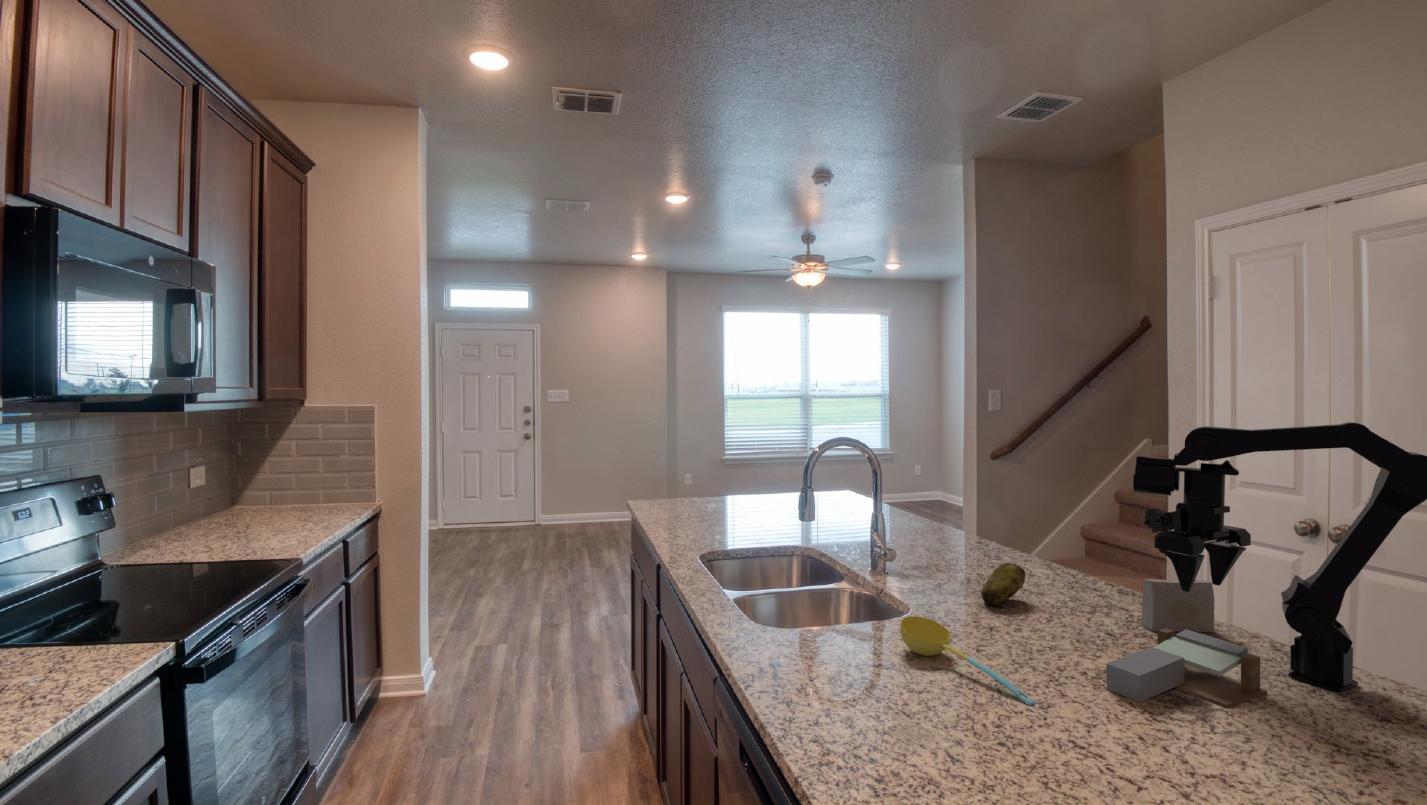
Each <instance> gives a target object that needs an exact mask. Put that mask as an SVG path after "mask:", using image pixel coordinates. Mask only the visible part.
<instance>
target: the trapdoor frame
mask: <svg viewBox="0 0 1427 805" xmlns="http://www.w3.org/2000/svg"><path fill="white" fill-rule="evenodd" d="M1156 633H1157V634H1156V635H1157V641H1156V642H1157V643H1156V644H1157V645H1159V644H1160V643H1162V642H1164V641H1166V640H1168V639H1169V638H1171V637H1173V636H1174V637H1176V634H1175V633H1176V632H1175V631H1174V630H1171V629H1167V628H1164V629H1160V630H1157V632H1156ZM1157 645H1156V646H1157ZM1173 689H1176V690H1179V691H1182V692H1185V693H1187V694H1189V695H1192V696H1194V697H1197V698H1200V699H1201V700H1202V699H1203V700H1205V701H1209V702H1211V703H1212V704H1213V703H1214V704H1215V705H1219V706H1221V707H1224V708H1226V709H1227V708H1229V707H1233V706H1236V705H1238V704H1242V703H1244V702H1246V701H1249V700H1253V699H1254V698H1255V699H1256V698H1258V697H1260V696H1263V695H1266V694H1268V690H1267V689H1265V688H1264V689H1263V688H1261V656H1258V655H1255V654H1251V653H1248V654H1247V655H1244V656H1241V664H1240V680H1238V679H1234V678H1233V677H1229V676H1225V675H1224V674H1223V675H1221V676H1218V675H1215V674H1212V673H1209V672H1206V671H1203V670H1200V669H1197V668H1195V667H1192V666H1189V665H1186V664H1184V683H1183V684H1180V685H1178V686H1176V687H1174V688H1173Z"/></svg>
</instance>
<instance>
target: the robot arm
mask: <svg viewBox="0 0 1427 805" xmlns="http://www.w3.org/2000/svg"><path fill="white" fill-rule="evenodd" d="M1342 448H1343V449H1349V450H1351V451H1353V453H1356V454H1358V455H1359V456H1360V457H1362V458H1363V459H1366V460H1367V461H1368V462H1370V463H1372V464H1373V465H1375V466H1376V467H1378V468H1379V469H1380V470H1379V472H1378V474H1377V477H1376V479H1375V482H1374V484H1373V485H1374V486H1373V489H1372V492H1371V495H1370V498H1369V501H1368V502H1367V503H1366V505H1364V507H1363V509H1362V510H1361V511H1360V513H1359V514H1358V515H1357V517H1356V518H1355V519H1354V521H1353V522H1352V523H1351V525H1350V526H1349V528H1348V529H1347V530H1346V531H1345V533H1344V534H1343V536H1341V538H1340V539H1339V540H1338V542H1337V543H1336V544H1335V546H1334V547H1333V549H1332V550H1331V552H1330V553H1329V554H1328V556H1327V557H1326V559H1325V560H1324V561H1323V563H1321V565H1320V566H1319V568H1318V569H1317V571H1315V572H1314V573H1313V574H1312V575H1310V576H1309V577H1307V578H1306V579H1303V578H1302V577H1300V576H1299V575H1297V574H1294V576H1293V578H1292V580H1291V582H1290V585H1289V586H1288V587H1287V588H1286V589H1285V590H1283V591H1282V592H1280V595H1281V598H1282V602H1281V608H1282V612H1283V615H1284V618H1285V620H1286V623H1287V624H1288V625H1289V627H1290V628H1291V629H1292V630H1294V631H1295V632H1297V633H1299V634H1300V635H1297V636H1295V637H1294V638H1293V639H1294V642H1293V644H1291V645H1290V655H1289V656H1290V657H1289V658H1290V661H1289V662H1290V663H1289V664H1290V665H1289V666H1290V670H1291V671H1290V672H1289V673H1288V675H1287V676H1288V677H1290V678H1292V679H1296V680H1300V681H1302V682H1304V683H1305V682H1306V683H1309V684H1311V685H1315V686H1317V687H1321V688H1323V689H1327V690H1330V691H1332V692H1337V693H1338V692H1339V693H1340V692H1341V693H1342V692H1344V691H1346V690H1348V689H1351V688H1354V687H1357V686H1358V684H1359V682H1358V681H1357V680H1354V679H1353V677H1354V674H1353V672H1354V671H1353V670H1354V669H1353V668H1354V667H1353V666H1354V664H1353V663H1354V647H1353V646H1352V645H1353V640H1352V639H1351V637H1350V635H1349V633H1348V631H1347V630H1346V628H1345V626H1344V625H1343V624H1342V623H1340V622H1339V621H1338V620H1337V618H1338V616H1339V613H1340V611H1341V607H1342V604H1343V601H1344V599H1345V594H1346V592H1347V589H1349V587H1350V586H1351V585H1352V583H1353V582H1354V580H1356V578H1357V577H1358V576H1359V574H1360V573H1361V571H1362V570H1363V569H1364V567H1365V566H1366V565H1367V563H1369V561H1370V559H1371V558H1372V557H1373V556H1374V554H1375V553H1376V551H1378V549H1379V548H1380V547H1381V545H1382V544H1383V542H1385V540H1386V539H1387V538H1388V536H1389V535H1390V534H1391V532H1392V531H1393V529H1394V528H1395V527H1396V526H1397V524H1398V523H1399V522H1400V520H1402V518H1403V516H1405V515H1406V514H1408V513H1409V512H1411V511H1412V510H1413V509H1415V508H1416V507H1419V506H1420V505H1421V504H1423V503H1424V502H1425V501H1426V500H1427V455H1424V454H1421V453H1417V452H1413V451H1409V452H1408V451H1407V450H1405V449H1403V448H1401V447H1400V446H1398V445H1396V444H1394V443H1393V442H1391V441H1389V440H1387V439H1386V438H1384V437H1382V436H1380V435H1378V434H1377V433H1376V432H1373V431H1371V430H1370V428H1369V427H1367V426H1366V425H1364V424H1362V423H1358V422H1349V421H1348V422H1343V423H1340V424H1323V425H1308V426H1292V427H1290V426H1289V427H1278V428H1277V427H1276V428H1275V427H1274V428H1261V429H1260V428H1259V429H1245V428H1235V427H1234V428H1233V427H1222V426H1209V425H1208V426H1207V425H1205V426H1204V425H1203V426H1198V427H1196V428H1194V429H1192V430H1191V431H1189V433H1188V434H1187V435H1186V437H1185V440H1184V447H1183V448H1182V449H1181V450H1180V451H1179V452H1178V453H1177V452H1175V453H1174V456H1173V458H1166V457H1151V456H1147V455H1137V456H1136V458H1135V459H1136V460H1135V461H1136V462H1135V468H1134V474H1133V479H1132V480H1133V482H1132V483H1133V485H1132V486H1133V487H1132V488H1133V492H1134V493H1135V494H1146V495H1147V494H1149V495H1156V496H1157V495H1159V496H1169V497H1172V494H1173V493H1174V492H1175V491H1177V492H1179V491H1180V479H1181V478H1180V476H1181V475H1180V474H1181V473H1182V472H1183V473H1184V474H1183V502H1177V504H1176V505H1175V510H1174V511H1168V512H1163V511H1162V510H1161V509H1160V508H1159V507H1158V508H1150V509H1147V510H1145V513H1144V514H1145V515H1144V520H1143V524H1144V526H1146V527H1147V528H1150V531H1151V534H1153V533H1155V535H1154V536H1153V548H1154V549H1158V551H1159V552H1160V553H1161V554H1164V555H1165V556H1166V557H1168V559H1170V561H1171V563H1172V565H1173V568H1174V571H1175V574H1176V576H1177V580H1179V583H1180V586H1181V588H1182V590H1183V591H1186V592H1190V591H1191V588H1192V586H1193V584H1194V582H1195V580H1197V576H1198V574H1199V571H1200V568H1201V566H1202V564H1203V561H1204V559H1205V556H1206V555H1205V554H1202V553H1203V551H1204V550H1206V552H1208V556H1209V557H1208V559H1209V567H1210V568H1209V570H1210V578H1211V582H1212V585H1215V586H1221V585H1222V583H1223V582H1224V580H1225V578H1226V577H1227V576H1228V574H1229V573H1230V571H1231V569H1233V567H1234V565H1235V563H1237V561H1238V559H1239V558H1240V556H1242V554H1243V552H1245V551H1246V550H1247V548H1246V547H1248V546H1249V547H1250V546H1251V545H1252V544H1251V543H1252V540H1251V539H1252V538H1251V537H1252V535H1251V534H1250V532H1249V531H1248V530H1247V529H1246V528H1243V527H1236V526H1231V525H1225V514H1226V513H1230V512H1231V511H1230V510H1231V506H1230V505H1225V500H1226V499H1225V498H1226V497H1225V496H1226V495H1225V494H1226V492H1225V491H1226V476H1239V475H1240V470H1238V469H1237V468H1236V467H1234V466H1233V465H1232V464H1231V462H1230V460H1229V459H1227V458H1233V457H1236V456H1241V455H1245V454H1251V453H1258V452H1259V453H1260V452H1280V451H1301V450H1321V449H1323V450H1324V449H1327V450H1328V449H1342ZM1221 459H1222V460H1223V459H1226V460H1224V462H1222V463H1207V462H1210V461H1216V460H1221ZM1197 461H1200V465H1199V466H1200V468H1199V467H1184V466H1188V465H1191V464H1193V463H1195V462H1197ZM1201 461H1203V462H1201ZM1204 462H1205V463H1204ZM1180 466H1181V467H1180ZM1156 533H1157V534H1156Z"/></svg>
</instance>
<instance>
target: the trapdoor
mask: <svg viewBox="0 0 1427 805" xmlns="http://www.w3.org/2000/svg"><path fill="white" fill-rule="evenodd" d="M1153 648H1156V649H1159V650H1162V651H1165V652H1168V653H1171V654H1174V655H1178V656H1181V657H1184V664H1186V665H1189V666H1192V667H1195V668H1197V669H1200V670H1203V671H1206V672H1209V673H1212V674H1215V675H1218V676H1221V675H1223V676H1224V675H1225V674H1226V673H1228V672H1229V671H1231V670H1233V669H1234V668H1236V667H1238V666H1239V665H1241V656H1244V655H1247V654H1249V653H1248V652H1249V651H1248V647H1246V646H1243V645H1239V644H1236V643H1233V642H1230V641H1226V640H1224V639H1220V638H1216V637H1212V636H1210V635H1207V634H1204V633H1201V632H1193V631H1190V630H1187V629H1185V630H1184V631H1182V632H1178V633H1177V634H1175V637H1174V636H1173V637H1171V638H1169V639H1168V640H1166V641H1164V642H1162V643H1160V644H1159V645H1155V646H1153Z"/></svg>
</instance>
